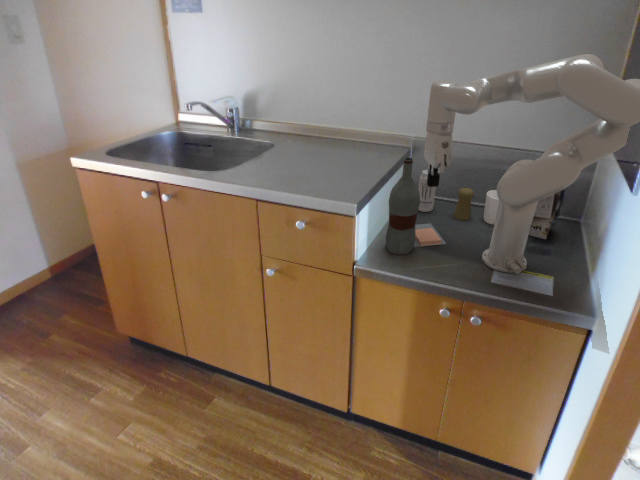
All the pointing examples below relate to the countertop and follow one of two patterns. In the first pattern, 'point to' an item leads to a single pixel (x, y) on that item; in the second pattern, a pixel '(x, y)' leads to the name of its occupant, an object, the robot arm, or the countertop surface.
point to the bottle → (403, 212)
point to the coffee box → (544, 216)
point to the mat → (424, 226)
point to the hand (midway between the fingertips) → (432, 185)
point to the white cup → (491, 207)
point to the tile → (427, 237)
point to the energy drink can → (426, 193)
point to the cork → (464, 204)
